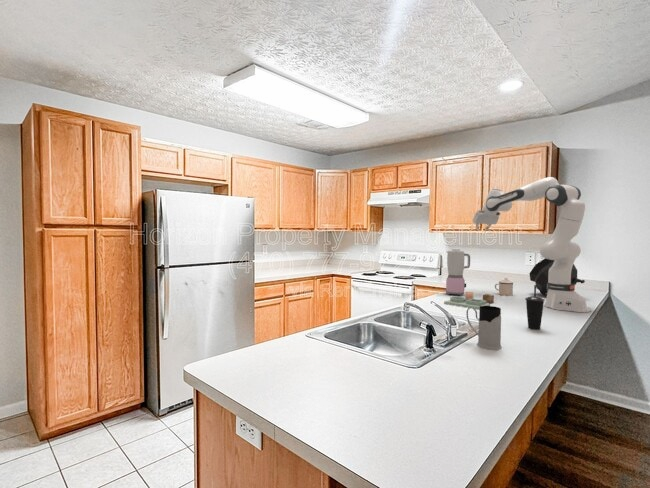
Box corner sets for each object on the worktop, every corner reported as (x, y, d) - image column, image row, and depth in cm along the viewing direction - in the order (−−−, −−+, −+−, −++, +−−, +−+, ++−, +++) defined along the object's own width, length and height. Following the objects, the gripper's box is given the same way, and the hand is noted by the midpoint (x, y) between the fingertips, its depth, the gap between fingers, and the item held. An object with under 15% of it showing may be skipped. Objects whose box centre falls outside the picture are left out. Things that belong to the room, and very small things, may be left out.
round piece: (474, 300, 231) (474, 292, 231) (471, 301, 227) (471, 293, 227) (467, 298, 235) (467, 291, 234) (463, 299, 231) (463, 292, 231)
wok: (545, 293, 229) (521, 267, 247) (553, 310, 246) (531, 285, 264) (587, 269, 222) (559, 244, 240) (592, 289, 239) (566, 264, 257)
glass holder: (494, 351, 132) (495, 311, 131) (460, 341, 143) (460, 304, 143) (506, 347, 137) (507, 308, 137) (472, 337, 149) (473, 302, 148)
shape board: (490, 306, 212) (490, 300, 212) (480, 309, 202) (480, 303, 202) (454, 300, 228) (454, 295, 227) (444, 303, 218) (444, 298, 218)
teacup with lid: (514, 294, 251) (515, 278, 250) (510, 296, 244) (510, 279, 244) (496, 292, 259) (497, 276, 259) (492, 294, 253) (492, 277, 252)
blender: (445, 295, 246) (446, 249, 245) (445, 292, 258) (446, 248, 257) (470, 296, 241) (471, 249, 240) (469, 294, 253) (469, 249, 252)
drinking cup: (526, 325, 169) (527, 283, 168) (545, 328, 164) (546, 285, 164) (523, 328, 163) (524, 285, 163) (542, 331, 158) (543, 287, 158)
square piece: (493, 302, 222) (493, 294, 222) (490, 304, 219) (490, 295, 219) (485, 301, 226) (485, 293, 226) (482, 302, 222) (482, 294, 222)
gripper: (480, 211, 245) (473, 230, 250) (502, 213, 253) (495, 231, 258) (474, 208, 250) (467, 226, 256) (495, 210, 258) (489, 228, 263)
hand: (481, 229), depth 257 cm, fingers open, 8 cm apart
